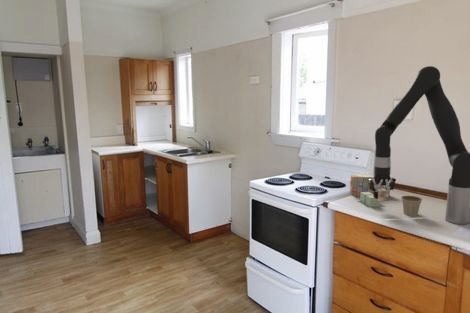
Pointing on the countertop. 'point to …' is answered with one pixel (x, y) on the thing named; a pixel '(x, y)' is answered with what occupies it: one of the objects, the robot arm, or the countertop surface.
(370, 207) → the build mat
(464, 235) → the countertop surface
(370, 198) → the sage block near
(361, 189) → the stack of blocks
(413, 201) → the flower pot
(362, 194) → the sage block far
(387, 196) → the maple block
